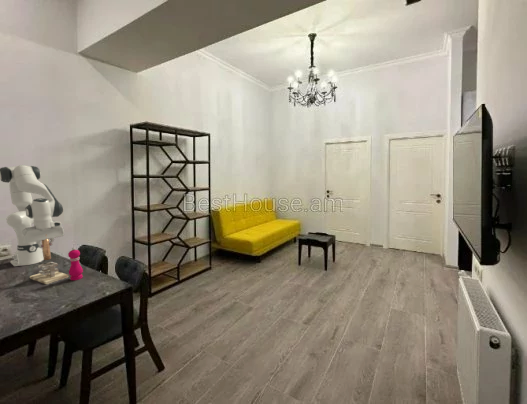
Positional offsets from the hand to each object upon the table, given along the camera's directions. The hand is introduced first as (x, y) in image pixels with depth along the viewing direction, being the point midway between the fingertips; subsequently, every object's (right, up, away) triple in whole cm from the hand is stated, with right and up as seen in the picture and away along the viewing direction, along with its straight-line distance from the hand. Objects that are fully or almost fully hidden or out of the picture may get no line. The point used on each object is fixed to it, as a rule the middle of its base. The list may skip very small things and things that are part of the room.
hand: (46, 246), depth 165 cm
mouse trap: (0, -20, +2) cm, 20 cm away
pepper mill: (+18, -20, +1) cm, 28 cm away
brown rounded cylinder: (0, -8, +1) cm, 8 cm away
